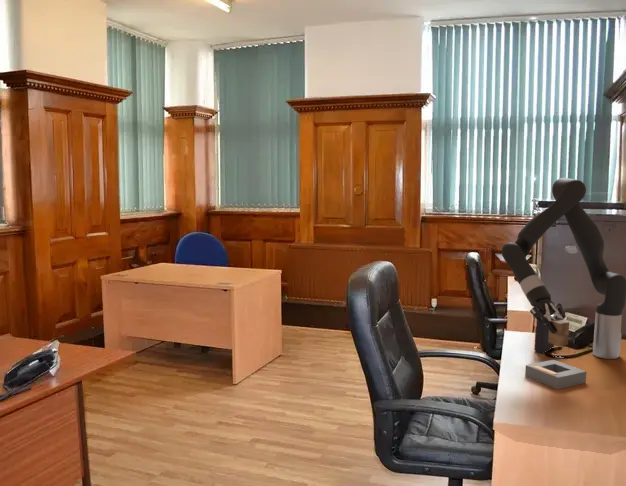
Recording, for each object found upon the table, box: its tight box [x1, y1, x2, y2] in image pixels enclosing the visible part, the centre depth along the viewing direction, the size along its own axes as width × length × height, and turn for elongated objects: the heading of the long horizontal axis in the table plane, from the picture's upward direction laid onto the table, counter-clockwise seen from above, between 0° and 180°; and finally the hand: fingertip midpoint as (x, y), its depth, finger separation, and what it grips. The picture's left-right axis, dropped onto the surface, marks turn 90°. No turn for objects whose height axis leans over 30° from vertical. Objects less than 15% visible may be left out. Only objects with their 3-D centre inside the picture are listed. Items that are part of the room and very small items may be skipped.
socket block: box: [524, 359, 587, 390], centre depth 212 cm, size 14×14×4 cm
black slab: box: [533, 313, 558, 354], centre depth 245 cm, size 11×4×15 cm, turn 134°
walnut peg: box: [548, 318, 570, 347], centre depth 209 cm, size 4×4×8 cm
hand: (560, 331), depth 209 cm, fingers closed on walnut peg, 4 cm apart
